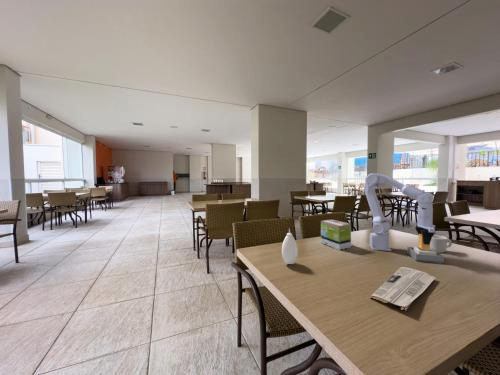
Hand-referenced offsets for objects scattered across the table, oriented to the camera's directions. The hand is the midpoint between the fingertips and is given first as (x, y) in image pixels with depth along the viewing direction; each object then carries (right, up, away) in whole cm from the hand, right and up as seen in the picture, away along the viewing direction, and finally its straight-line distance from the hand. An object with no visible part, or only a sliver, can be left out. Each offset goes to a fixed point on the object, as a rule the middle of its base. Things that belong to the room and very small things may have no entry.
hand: (424, 242), depth 106 cm
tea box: (-36, -8, +23) cm, 43 cm away
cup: (+16, -7, +9) cm, 20 cm away
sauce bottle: (-69, -10, -3) cm, 70 cm away
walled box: (0, -8, 0) cm, 8 cm away
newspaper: (-30, -11, -27) cm, 42 cm away
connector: (0, -3, 0) cm, 3 cm away
